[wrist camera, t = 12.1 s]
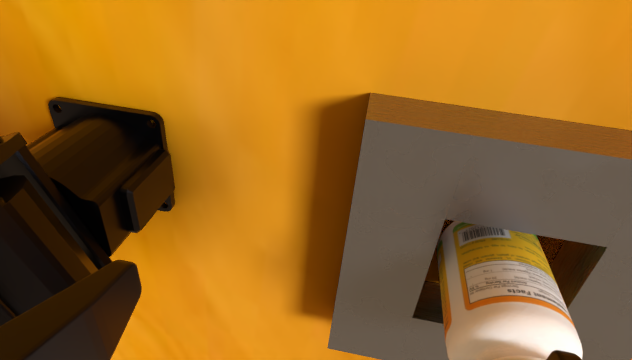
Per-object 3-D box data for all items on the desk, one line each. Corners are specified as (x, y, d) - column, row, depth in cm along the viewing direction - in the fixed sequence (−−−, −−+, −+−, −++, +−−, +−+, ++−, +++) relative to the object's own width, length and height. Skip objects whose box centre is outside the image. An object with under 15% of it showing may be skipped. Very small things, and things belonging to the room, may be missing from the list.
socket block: (334, 310, 28) (327, 348, 26) (370, 92, 20) (365, 119, 17) (574, 358, 27) (592, 403, 24) (733, 145, 18) (786, 182, 15)
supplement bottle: (491, 292, 25) (532, 471, 17) (417, 252, 24) (423, 419, 16) (560, 238, 22) (649, 423, 14) (478, 191, 21) (523, 358, 13)
